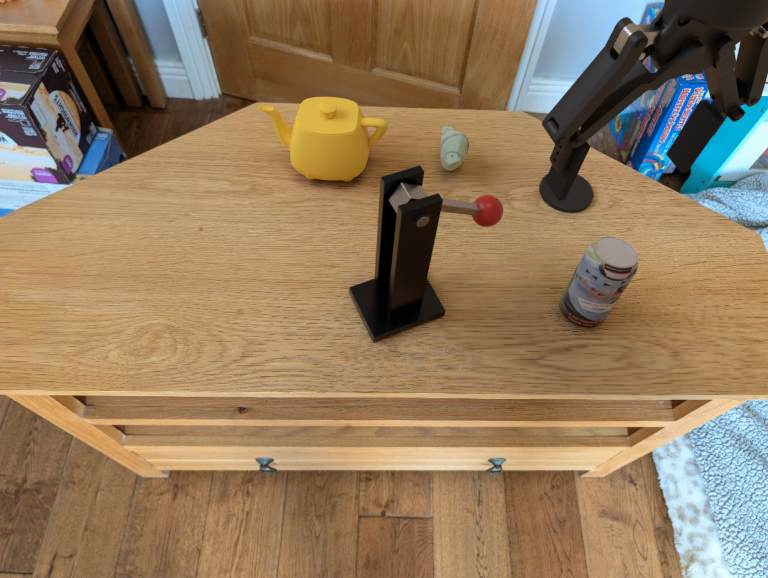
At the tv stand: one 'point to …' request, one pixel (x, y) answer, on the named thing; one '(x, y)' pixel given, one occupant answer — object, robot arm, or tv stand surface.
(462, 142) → the pale green rounded lump
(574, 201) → the coaster
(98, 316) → the tv stand surface
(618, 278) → the beverage can
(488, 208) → the lever
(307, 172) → the teapot
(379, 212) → the bracket
